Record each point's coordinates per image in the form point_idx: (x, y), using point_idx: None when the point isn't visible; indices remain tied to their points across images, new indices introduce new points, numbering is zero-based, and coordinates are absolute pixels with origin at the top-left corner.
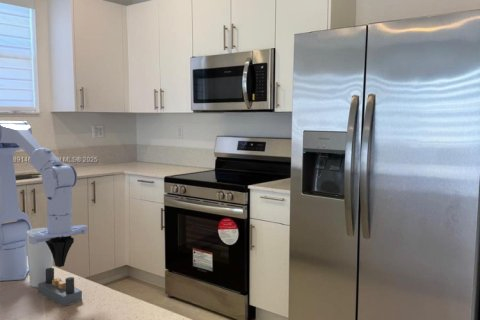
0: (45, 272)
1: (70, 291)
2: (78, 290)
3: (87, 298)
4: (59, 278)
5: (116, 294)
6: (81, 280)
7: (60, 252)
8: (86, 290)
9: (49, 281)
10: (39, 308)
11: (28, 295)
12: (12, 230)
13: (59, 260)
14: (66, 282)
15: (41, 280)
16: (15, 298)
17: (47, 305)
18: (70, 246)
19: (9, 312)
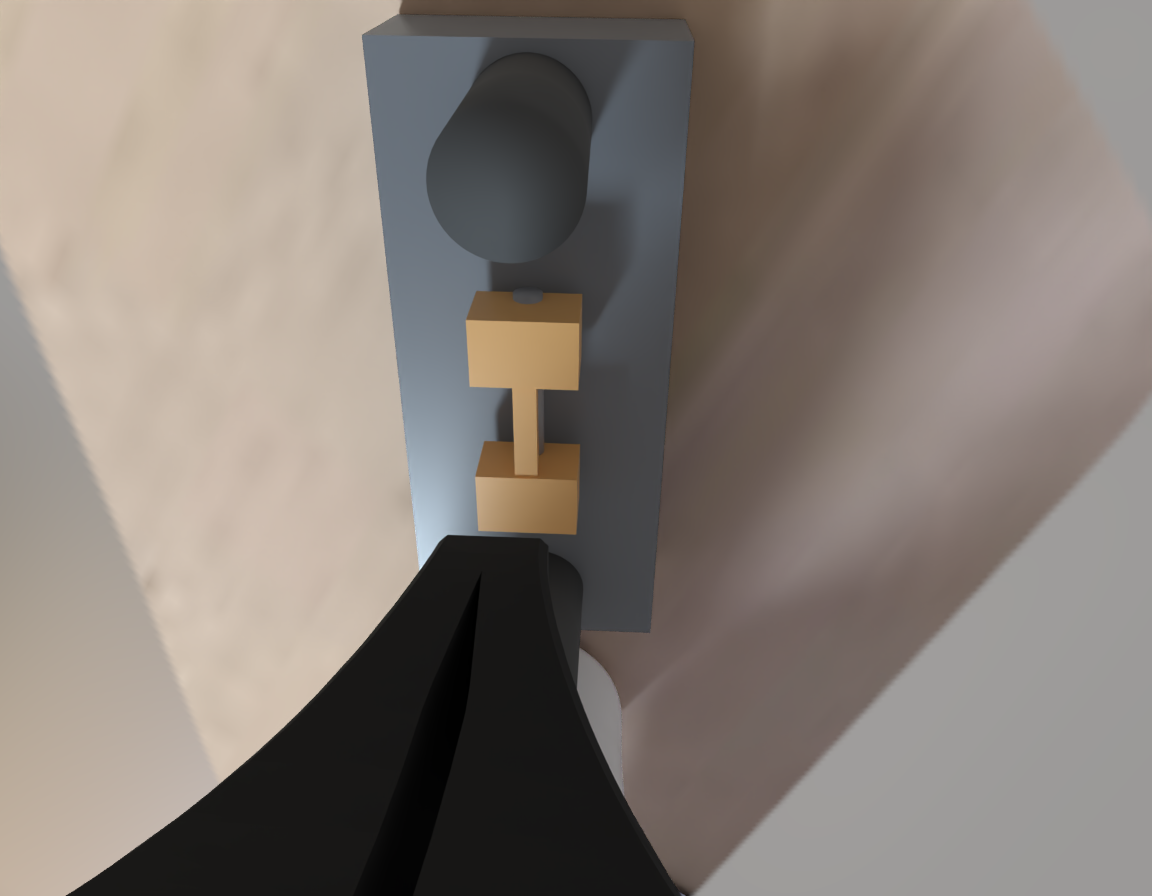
0: None
1: (553, 64)
2: (400, 81)
3: (309, 9)
4: (481, 507)
5: None
6: (156, 526)
7: (519, 763)
8: (214, 255)
9: (560, 576)
10: (890, 212)
11: (743, 573)
12: None
13: (545, 620)
14: (587, 161)
15: None
16: (861, 595)
17: (780, 217)
18: (162, 839)
19: (1133, 362)
